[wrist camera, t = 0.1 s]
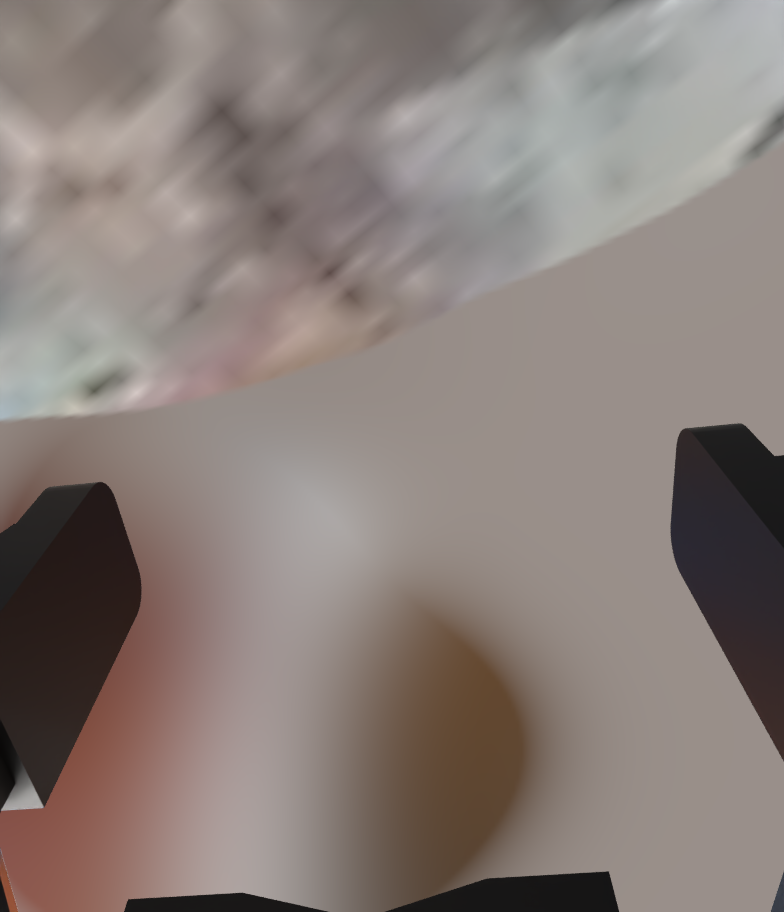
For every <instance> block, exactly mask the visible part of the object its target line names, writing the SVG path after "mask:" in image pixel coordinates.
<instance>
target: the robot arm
mask: <svg viewBox="0 0 784 912" xmlns="http://www.w3.org/2000/svg"><path fill="white" fill-rule="evenodd" d="M671 543H672V549H673V554H674V558H675V561H676V564H677V567H678V569H679V572H680V573H681V575H682V577H683V579H684V581H685V583H686V585H687V586H688V588H689V590H690V591H691V594H692V595H693V597H694V599H695V601H696V603H697V604H698V606H699V608H700V610H701V612H702V614H703V615H704V617H705V619H706V621H707V623H708V624H709V626H710V628H711V630H712V632H713V634H714V635H715V637H716V639H717V641H718V643H719V644H720V646H721V648H722V650H723V652H724V654H725V655H726V657H727V659H728V661H729V663H730V665H731V666H732V668H733V670H734V672H735V674H736V675H737V677H738V679H739V681H740V683H741V684H742V686H743V688H744V690H745V692H746V694H747V695H748V697H749V699H750V701H751V703H752V705H753V706H754V708H755V710H756V712H757V713H758V715H759V717H760V719H761V721H762V723H763V724H764V726H765V728H766V730H767V732H768V733H769V735H770V737H771V739H772V741H773V743H774V744H775V746H776V748H777V750H778V751H779V754H780V755H781V757H782V759H783V761H784V455H782V456H774V455H773V454H772V453H771V452H770V451H769V450H768V449H767V448H766V447H765V446H764V445H763V444H762V443H761V442H760V441H759V440H758V439H757V438H756V436H755V435H754V434H753V433H752V432H751V431H750V430H749V429H748V428H747V427H746V426H744V425H743V424H728V425H717V426H707V427H696V428H685V429H683V430H682V431H681V432H680V434H679V437H678V441H677V447H676V460H675V474H674V486H673V500H672V514H671ZM140 602H141V578H140V573H139V569H138V566H137V563H136V560H135V557H134V554H133V551H132V548H131V545H130V542H129V539H128V536H127V533H126V530H125V527H124V524H123V521H122V518H121V514H120V511H119V508H118V505H117V502H116V499H115V497H114V494H113V493H112V491H111V489H110V488H109V486H107V485H106V484H105V483H103V482H97V483H86V484H75V485H64V486H54V487H49V488H47V489H45V490H44V491H43V492H42V494H41V495H40V496H39V497H38V498H37V500H36V501H35V502H34V503H33V504H32V506H31V507H30V508H29V509H28V510H27V511H26V513H25V514H24V515H23V516H22V517H21V519H20V520H19V521H18V522H17V523H16V524H13V525H12V526H10V527H9V528H8V529H6V530H5V531H3V532H2V533H0V812H1V810H17V809H32V808H44V807H45V805H46V803H47V800H48V798H49V796H50V794H51V792H52V790H53V788H54V786H55V784H56V782H57V780H58V777H59V776H60V773H61V771H62V769H63V767H64V765H65V763H66V761H67V759H68V757H69V755H70V753H71V751H72V749H73V747H74V745H75V742H76V740H77V738H78V736H79V734H80V732H81V730H82V728H83V726H84V724H85V722H86V720H87V718H88V716H89V713H90V711H91V709H92V707H93V705H94V703H95V701H96V699H97V697H98V695H99V692H100V691H101V689H102V686H103V684H104V682H105V680H106V678H107V676H108V674H109V672H110V670H111V668H112V666H113V664H114V661H115V660H116V657H117V655H118V653H119V651H120V649H121V647H122V645H123V643H124V641H125V639H126V637H127V635H128V633H129V630H130V628H131V626H132V624H133V622H134V620H135V618H136V616H137V614H138V611H139V607H140ZM0 912H18V909H17V905H16V901H15V898H14V895H13V891H12V887H11V884H10V880H9V877H8V873H7V870H6V866H5V863H4V860H3V856H2V853H1V849H0ZM124 912H327V911H322V910H318V909H313V908H308V907H304V906H300V905H295V904H291V903H286V902H282V901H277V900H273V899H268V898H264V897H259V896H255V895H250V894H245V893H232V894H214V895H197V896H181V897H180V896H179V897H161V898H144V899H129V900H128V901H127V904H126V908H125V911H124ZM386 912H619V910H618V906H617V902H616V898H615V894H614V890H613V886H612V882H611V878H610V874H609V872H593V873H575V874H558V875H543V876H542V875H541V876H525V877H506V878H489V879H484V880H481V881H479V882H475V883H472V884H469V885H466V886H463V887H460V888H457V889H454V890H451V891H448V892H445V893H441V894H438V895H435V896H432V897H429V898H426V899H423V900H420V901H417V902H414V903H411V904H408V905H405V906H402V907H398V908H395V909H393V910H389V911H386ZM771 912H784V873H783V876H782V879H781V882H780V885H779V888H778V891H777V894H776V897H775V900H774V904H773V907H772V910H771Z"/></svg>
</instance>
